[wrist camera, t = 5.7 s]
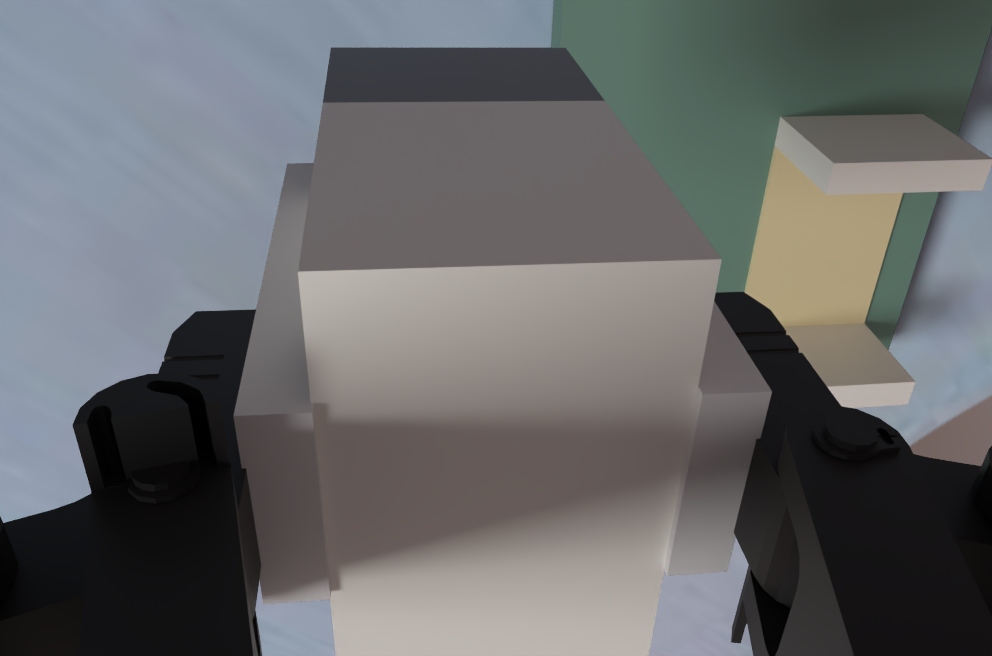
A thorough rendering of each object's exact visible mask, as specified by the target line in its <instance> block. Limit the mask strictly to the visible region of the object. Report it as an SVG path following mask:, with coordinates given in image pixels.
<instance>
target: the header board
mask: <svg viewBox="0 0 992 656" xmlns="http://www.w3.org/2000/svg"><path fill="white" fill-rule="evenodd" d="M991 29H992V0H554V7H553V25H552V42H551V48H566V49H567V50H568V52H569V53H570V54H571V56H572V57H573V58H574V60H575V61H576V62H577V64H578V65H579V66H580V68H581V69H582V71H583V72H584V73H585V75H586V76H587V77H588V79H589V80H590V81H591V83H592V84H593V85H594V87H595V88H596V89H597V91H598V92H599V94H600V95H601V96H602V98H603V99H604V100H605V102H606V103H607V104H608V106H609V107H610V108H611V110H612V111H613V113H614V114H615V115H616V117H617V118H618V119H619V121H620V122H621V123H622V125H623V126H624V127H625V129H626V130H627V131H628V133H629V134H630V136H631V137H632V138H633V140H634V141H635V142H636V144H637V145H638V146H639V148H640V149H641V150H642V152H643V153H644V154H645V156H646V157H647V159H648V160H649V161H650V163H651V164H652V165H653V167H654V168H655V169H656V171H657V172H658V173H659V175H660V176H661V178H662V179H663V180H664V182H665V183H666V184H667V186H668V187H669V188H670V190H671V191H672V192H673V194H674V195H675V196H676V198H677V199H678V201H679V202H680V203H681V205H682V206H683V207H684V209H685V210H686V211H687V213H688V214H689V215H690V217H691V218H692V220H693V221H694V222H695V224H696V225H697V226H698V228H699V229H700V230H701V232H702V233H703V234H704V236H705V237H706V238H707V240H708V241H709V243H710V244H711V245H712V247H713V248H714V249H715V251H716V252H717V253H718V255H719V256H720V257H721V259H722V261H721V266H720V272H719V277H718V283H717V288H716V292H745V293H746V294H748V295H749V296H751V297H752V298H754V299H755V300H757V301H758V302H760V303H761V304H763V305H764V306H766V307H767V308H769V309H770V310H771V311H772V312H773V314H774V315H775V316H776V318H777V319H778V320H779V322H780V323H781V324H782V326H783V327H784V329H785V330H786V335H790V337H791V338H792V339H793V341H794V342H795V344H796V345H797V346H798V348H799V353H803V354H804V356H805V357H806V359H807V360H808V361H809V363H810V364H811V365H812V367H813V368H814V369H815V371H816V372H817V374H818V375H819V376H820V378H821V379H822V380H823V382H824V383H825V384H826V386H827V387H828V389H829V390H830V391H831V393H832V394H833V395H834V397H835V398H836V399H837V401H838V402H839V404H840V405H841V406H843V407H848V408H857V407H874V406H891V405H908V402H909V399H910V396H911V394H912V391H913V388H914V385H915V380H914V379H913V378H912V377H911V376H910V375H909V374H908V373H907V371H906V370H905V369H904V368H903V367H902V366H901V365H900V363H899V362H898V361H897V360H896V359H895V358H894V357H893V355H892V354H891V353H890V352H889V351H888V350H889V347H890V344H891V341H892V337H893V334H894V331H895V328H896V325H897V322H898V319H899V316H900V313H901V309H902V306H903V303H904V300H905V297H906V294H907V291H908V288H909V285H910V281H911V278H912V275H913V272H914V269H915V266H916V263H917V260H918V256H919V253H920V250H921V247H922V244H923V241H924V238H925V235H926V232H927V228H928V225H929V222H930V219H931V216H932V213H933V210H934V207H935V204H936V200H937V197H938V194H939V192H945V191H979V190H983V188H984V185H985V182H986V179H987V176H988V173H989V170H990V168H991V165H992V158H991V157H989V156H988V155H986V154H984V153H983V152H981V151H980V150H978V149H977V148H975V147H974V146H972V145H970V144H969V143H967V142H966V141H964V140H963V139H961V138H960V137H958V136H957V135H958V132H959V129H960V126H961V123H962V119H963V116H964V113H965V110H966V107H967V104H968V101H969V98H970V95H971V91H972V88H973V85H974V82H975V79H976V76H977V73H978V70H979V67H980V63H981V60H982V57H983V54H984V51H985V48H986V45H987V42H988V39H989V35H990V32H991Z"/></svg>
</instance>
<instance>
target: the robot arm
mask: <svg viewBox="0 0 992 656" xmlns="http://www.w3.org/2000/svg"><path fill="white" fill-rule="evenodd" d="M313 166H314V163H299V164H287V168H286V173H285V177H284V182H283V187H282V191H281V196H280V201H279V205H278V210H277V215H276V219H275V224H274V229H273V233H272V238H271V243H270V247H269V252H268V257H267V261H266V266H265V271H264V275H263V280H262V285H261V289H260V294H259V299H258V303H257V308H256V310H229V311H197V312H195V313H194V314H193V315H192V316H191V317H190V318H188V319H187V320H186V321H185V322H184V323H183V324H182V325H181V326H180V327H179V328H177V329H176V330H175V331H174V332H173V333H172V336H171V339H170V342H169V345H168V348H167V350H166V353H165V356H164V362H162V365H161V367H160V370H159V373H158V374H147V375H143V376H139V377H135V378H131V379H127V380H123V381H120V382H118V383H116V384H114V385H112V386H110V387H108V388H106V389H104V390H102V391H100V392H98V393H96V394H95V395H94V396H93V397H92V398H91V399H90V400H89V401H87V402H86V403H85V404H84V405H83V406H82V407H81V408H80V409H79V412H78V414H77V416H76V418H75V421H74V423H73V428H74V432H75V435H76V439H77V442H78V446H79V449H80V453H81V456H82V460H83V463H84V467H85V470H86V474H87V477H88V481H89V484H90V488H91V494H90V495H88V496H86V497H84V498H82V499H80V500H78V501H76V502H74V503H71V504H68V505H65V506H62V507H59V508H57V509H54V510H50V511H46V512H43V513H39V514H35V515H32V516H28V517H24V518H21V519H17V520H13V521H10V522H6V523H3V522H2V519H1V517H0V656H262V651H261V643H260V635H259V629H258V623H257V617H256V611H255V607H256V600H257V592H258V585H259V579H260V586H261V592H262V598H263V604H275V603H289V602H303V601H317V600H331V587H330V576H329V566H328V556H327V545H326V535H325V524H324V514H323V504H322V493H321V483H320V473H319V462H318V452H317V441H316V431H315V421H314V410H313V403H311V400H310V390H309V380H308V370H307V360H306V350H305V340H304V330H303V320H302V310H301V300H300V290H299V279H298V266H299V260H300V253H301V246H302V240H303V233H304V226H305V220H306V213H307V206H308V199H309V193H310V186H311V179H312V173H313ZM735 538H737V540H738V542H739V545H740V547H741V549H742V551H743V553H744V555H745V557H746V559H747V561H748V564H749V566H748V570H747V574H746V578H745V581H744V585H743V589H742V593H741V596H740V600H739V604H738V608H737V611H736V615H735V619H734V623H733V626H732V638H731V642H733V643H741V640H742V636H743V633H744V629H745V625H746V624H748V630H749V635H750V640H751V645H752V650H753V656H992V446H991V447H990V448H989V450H988V453H987V455H986V457H985V460H984V462H983V464H982V466H976V465H970V464H963V463H957V462H951V461H946V460H940V459H933V458H928V457H923V456H919V455H915V454H913V453H912V451H911V449H910V446H909V445H908V444H907V442H906V441H905V440H904V439H903V437H902V436H901V435H900V433H899V432H898V431H897V430H895V429H894V428H892V427H891V426H890V425H888V424H887V423H885V422H884V421H882V420H881V419H880V418H877V417H875V416H872V415H870V414H867V413H865V412H863V411H860V410H858V409H853V408H848V407H843V406H841V405H840V404H839V402H838V401H837V399H836V398H835V397H834V395H833V394H832V393H831V391H830V390H829V389H828V387H827V386H826V384H825V383H824V382H823V380H822V379H821V378H820V376H819V375H818V374H817V372H816V371H815V369H814V368H813V367H812V365H811V364H810V363H809V361H808V360H807V359H806V357H805V356H804V354H803V353H799V348H798V346H797V345H796V344H795V342H794V341H793V339H792V338H791V337H790V335H786V330H785V329H784V327H783V326H782V324H781V323H780V322H779V320H778V319H777V318H776V316H775V315H774V314H773V312H772V311H771V310H770V309H769V308H767V307H766V306H764V305H763V304H761V303H760V302H758V301H757V300H755V299H754V298H752V297H751V296H749V295H748V294H746V293H745V292H716V293H715V299H714V304H713V310H712V315H711V320H710V326H709V331H708V337H707V342H706V347H705V353H704V358H703V364H702V369H701V374H700V380H699V385H698V387H697V393H696V398H695V403H694V409H693V414H692V420H691V425H690V430H689V436H688V441H687V447H686V452H685V457H684V463H683V468H682V473H681V479H680V484H679V490H678V495H677V500H676V506H675V511H674V516H673V522H672V527H671V533H670V538H669V543H668V549H667V554H666V559H665V565H664V569H665V572H666V575H667V576H673V575H687V574H702V573H716V572H727V570H728V566H729V562H730V558H731V554H732V550H733V546H734V542H735Z"/></svg>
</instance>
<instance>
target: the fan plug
mask: <svg viewBox="0 0 992 656" xmlns="http://www.w3.org/2000/svg"><path fill="white" fill-rule="evenodd" d="M721 261H722V259H721V257H720V256H719V255H718V253H717V252H716V251H715V249H714V248H713V247H712V245H711V244H710V243H709V241H708V240H707V238H706V237H705V236H704V234H703V233H702V232H701V230H700V229H699V228H698V226H697V225H696V224H695V222H694V221H693V220H692V218H691V217H690V215H689V214H688V213H687V211H686V210H685V209H684V207H683V206H682V205H681V203H680V202H679V201H678V199H677V198H676V196H675V195H674V194H673V192H672V191H671V190H670V188H669V187H668V186H667V184H666V183H665V182H664V180H663V179H662V178H661V176H660V175H659V173H658V172H657V171H656V169H655V168H654V167H653V165H652V164H651V163H650V161H649V160H648V159H647V157H646V156H645V154H644V153H643V152H642V150H641V149H640V148H639V146H638V145H637V144H636V142H635V141H634V140H633V138H632V137H631V136H630V134H629V133H628V131H627V130H626V129H625V127H624V126H623V125H622V123H621V122H620V121H619V119H618V118H617V117H616V115H615V114H614V113H613V111H612V110H611V108H610V107H609V106H608V104H607V103H606V102H605V100H604V99H603V98H602V96H601V95H600V94H599V92H598V91H597V89H596V88H595V87H594V85H593V84H592V83H591V81H590V80H589V79H588V77H587V76H586V75H585V73H584V72H583V71H582V69H581V68H580V66H579V65H578V64H577V62H576V61H575V60H574V58H573V57H572V56H571V54H570V53H569V52H568V50H567V49H566V48H331V52H330V59H329V65H328V72H327V79H326V85H325V92H324V99H323V106H322V112H321V119H320V126H319V132H318V139H317V146H316V152H315V159H314V166H313V173H312V179H311V186H310V193H309V199H308V206H307V213H306V220H305V226H304V233H303V240H302V246H301V253H300V260H299V266H298V279H299V290H300V300H301V310H302V320H303V330H304V340H305V350H306V360H307V370H308V380H309V390H310V400H311V403H313V410H314V421H315V431H316V441H317V452H318V462H319V473H320V483H321V493H322V504H323V514H324V524H325V535H326V545H327V556H328V566H329V576H330V587H331V600H330V602H331V612H332V622H333V632H334V642H335V652H336V656H648V655H649V650H650V645H651V639H652V634H653V628H654V623H655V618H656V612H657V607H658V601H659V596H660V591H661V585H662V580H663V574H664V565H665V559H666V554H667V549H668V543H669V538H670V533H671V527H672V522H673V516H674V511H675V506H676V500H677V495H678V490H679V484H680V479H681V473H682V468H683V463H684V457H685V452H686V447H687V441H688V436H689V430H690V425H691V420H692V414H693V409H694V403H695V398H696V393H697V387H698V385H699V380H700V374H701V369H702V364H703V358H704V353H705V347H706V342H707V337H708V331H709V326H710V320H711V315H712V310H713V304H714V299H715V293H716V288H717V283H718V277H719V272H720V266H721Z"/></svg>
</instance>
